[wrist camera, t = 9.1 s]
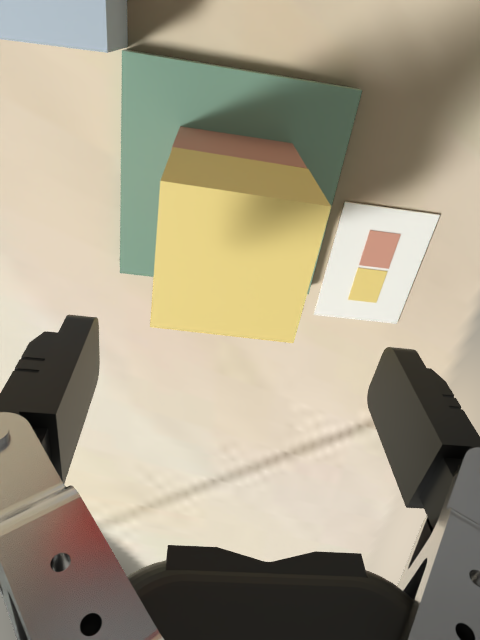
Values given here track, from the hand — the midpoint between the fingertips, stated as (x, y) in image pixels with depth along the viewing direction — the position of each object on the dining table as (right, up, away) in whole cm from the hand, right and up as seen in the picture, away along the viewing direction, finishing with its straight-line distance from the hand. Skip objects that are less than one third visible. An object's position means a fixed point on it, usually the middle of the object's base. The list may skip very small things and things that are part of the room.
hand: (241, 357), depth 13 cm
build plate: (-1, +9, +14) cm, 16 cm away
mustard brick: (0, +6, +9) cm, 10 cm away
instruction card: (+9, +5, +17) cm, 20 cm away
